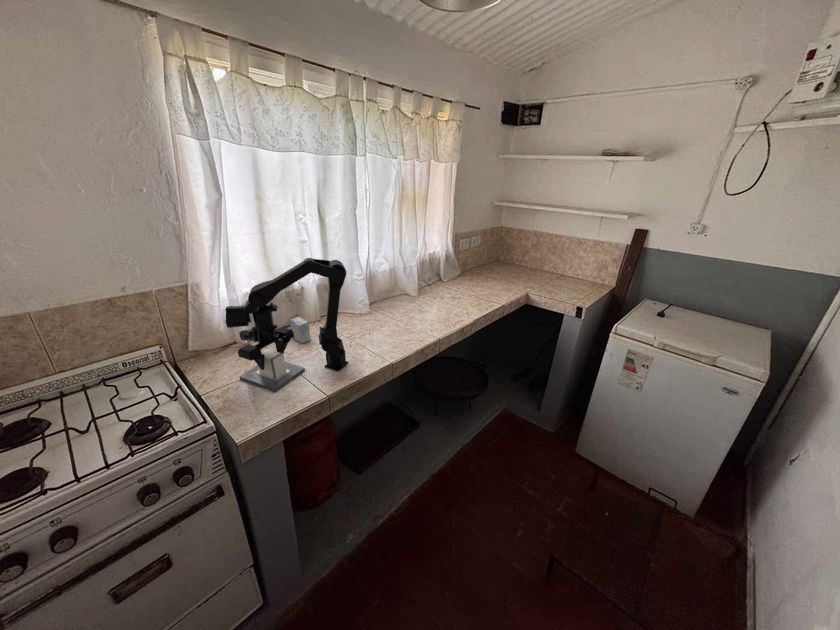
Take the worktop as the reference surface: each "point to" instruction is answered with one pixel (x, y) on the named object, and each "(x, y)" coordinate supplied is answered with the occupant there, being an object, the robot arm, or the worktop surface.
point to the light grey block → (273, 363)
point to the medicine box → (300, 329)
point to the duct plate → (270, 381)
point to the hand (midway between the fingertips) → (271, 364)
